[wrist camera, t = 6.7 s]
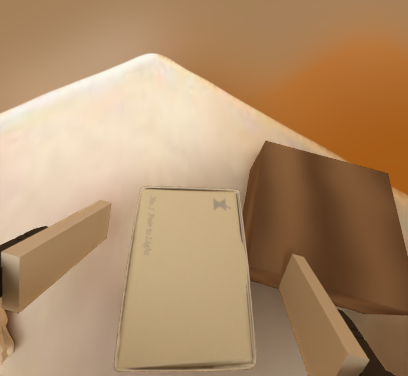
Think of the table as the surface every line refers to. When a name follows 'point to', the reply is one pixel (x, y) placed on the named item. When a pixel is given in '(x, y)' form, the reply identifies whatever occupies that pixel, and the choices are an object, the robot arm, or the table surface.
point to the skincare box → (186, 284)
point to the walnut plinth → (326, 228)
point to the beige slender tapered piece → (4, 337)
